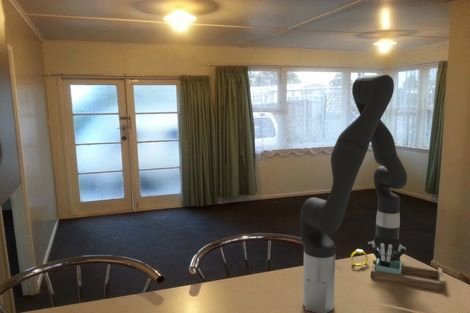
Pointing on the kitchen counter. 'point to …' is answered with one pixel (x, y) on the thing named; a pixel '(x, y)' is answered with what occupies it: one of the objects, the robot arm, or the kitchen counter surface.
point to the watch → (360, 253)
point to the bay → (412, 280)
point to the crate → (393, 269)
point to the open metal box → (391, 253)
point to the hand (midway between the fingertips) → (385, 270)
